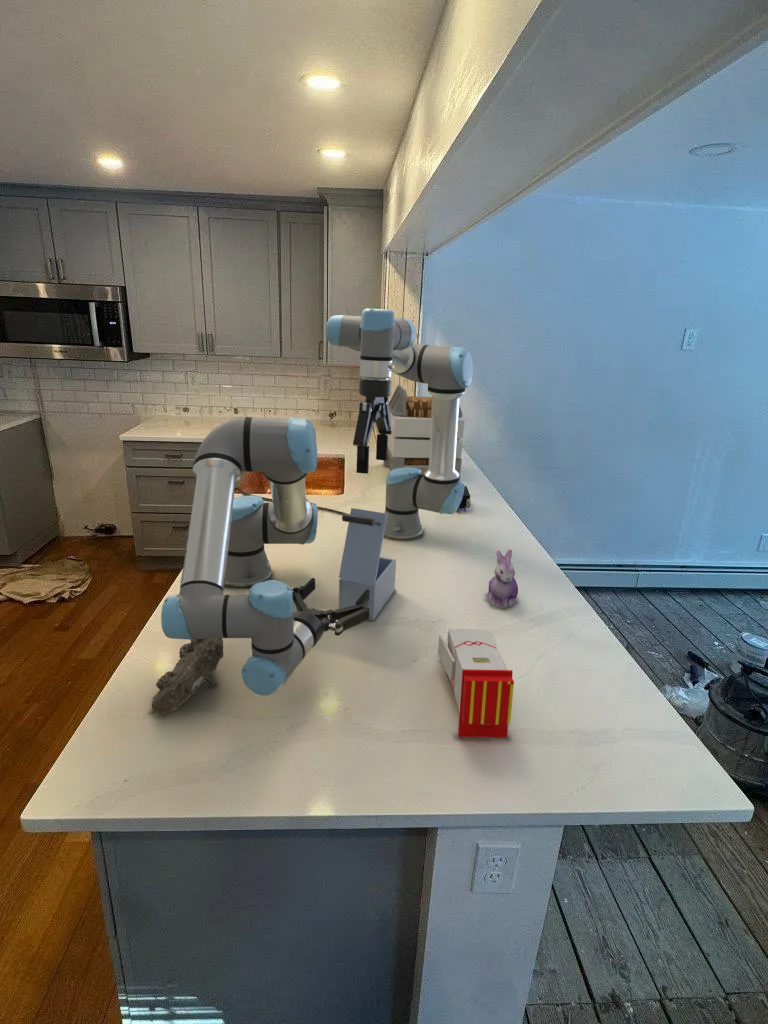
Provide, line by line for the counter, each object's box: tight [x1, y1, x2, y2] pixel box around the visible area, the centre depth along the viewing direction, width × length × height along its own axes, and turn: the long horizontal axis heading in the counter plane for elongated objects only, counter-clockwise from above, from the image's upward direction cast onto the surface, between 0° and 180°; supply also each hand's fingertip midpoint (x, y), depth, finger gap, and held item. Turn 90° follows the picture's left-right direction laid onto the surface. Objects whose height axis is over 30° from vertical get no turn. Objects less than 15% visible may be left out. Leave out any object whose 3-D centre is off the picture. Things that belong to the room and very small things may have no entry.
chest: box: [338, 556, 397, 621], centre depth 152 cm, size 18×10×10 cm, turn 161°
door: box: [338, 507, 387, 585], centre depth 139 cm, size 18×10×8 cm
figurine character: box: [456, 485, 472, 513], centre depth 228 cm, size 7×8×15 cm
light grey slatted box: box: [383, 384, 465, 481], centre depth 268 cm, size 34×33×41 cm
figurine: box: [487, 548, 519, 609], centre depth 154 cm, size 9×10×15 cm
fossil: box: [151, 638, 225, 714], centre depth 116 cm, size 22×10×15 cm
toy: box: [437, 628, 515, 738], centre depth 117 cm, size 12×13×30 cm
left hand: (340, 588), depth 131 cm, fingers open, 13 cm apart
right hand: (372, 466), depth 140 cm, fingers open, 13 cm apart
